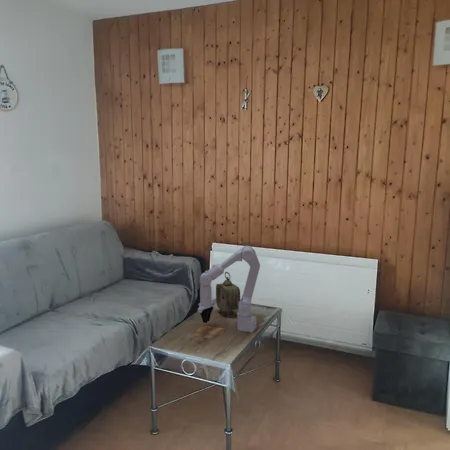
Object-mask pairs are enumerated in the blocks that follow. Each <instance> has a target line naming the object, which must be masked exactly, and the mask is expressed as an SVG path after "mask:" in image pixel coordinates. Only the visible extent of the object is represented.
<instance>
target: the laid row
mask: <svg viewBox="0 0 450 450" xmlns="http://www.w3.org/2000/svg"><path fill="white" fill-rule="evenodd" d="M190 336H195V337H201V338H206V339H212V340H216V339H218V338H219V337H221V335H216V334H210V333H205V332H199V331H196V330H195V331H193V332H192V333H191V334H190Z"/></svg>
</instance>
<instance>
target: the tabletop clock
mask: <svg viewBox="0 0 450 450" xmlns="http://www.w3.org/2000/svg"><path fill="white" fill-rule="evenodd" d="M226 274H228V276H227V275H226ZM224 278H225V280H223V282H222V283H216V286H215V301H216V306H217V308H218V309H219V310H218V313H222V312H224V313H226V312H227V315H226V319H230V315H233V313H234V311H238V310H239V307H238V303H239V301H240V300H241V290H240V287H239V286H237V285H236V284H234V283H233V282H232V280H231V274H230V273H229V272H228V271H224Z"/></svg>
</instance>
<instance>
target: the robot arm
mask: <svg viewBox="0 0 450 450" xmlns="http://www.w3.org/2000/svg"><path fill="white" fill-rule="evenodd" d="M243 261H244V262H246V263H247V264H248V266H249V270H248V274H247V277H246V282H245V286H244V289H243V294H242V295H241V297H240V301H239V303H238V307H239V309H238V310H237V311H238V312H237V313H236V314H237V319H236V321H237V323H236V324H237V331H240V332H246V333H248V332H249V333H253V332H254V331H256V329H257V316H256V315H255V314H254V315H253V314H252V309H251V305H252V297H253V295H254V291H255V286H256V284H257V279H258V275H259V271H260V268H261V264H260V260H259V257H258V255H257V253H256V250H255V249H254V248H253V246H250V245H244V246H243V247H242V248H239V249H238V250H236V252H234V253H233V254H231V255H230V256H229V257H228V258H227V259H224V261H222V262H221V263H216V264H213V265H212V267H211V268H209V269H208V270H205V271H204V272H202V274H201V275H200V276H199V283H200V284H199V286H200V287H199V297H200V299H199V301H200V302H199V303H198V304H197V305H198V306H199V307H198V308H197V313H198V314H200V316H201V320H202V323H205V324H207V323H208V322H210V319H211V316H212V312H213V310H214V306H213V305H214V303H215V302H214V301H215V300H213V299H212V284H211V283H212V282H213V281H215V280H216V279H217V278H219V277H220V276H222V275H223V274H225V270H226V269H227V268H228V267H230V266H232V265H233V264H235V263H236V262H243Z"/></svg>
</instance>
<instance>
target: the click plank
mask: <svg viewBox="0 0 450 450" xmlns="http://www.w3.org/2000/svg"><path fill="white" fill-rule="evenodd" d="M226 330H228V329H227V328H223V327H218V326H217V327H216V326H210V325H205V324H204V325H203V324H202V325H201V326H200V327H198V328H197V329H196V330H195V331H198V332H204V333H209V334H215V335H220V336H221V335H222V334H223V333H224V332H225V331H226Z"/></svg>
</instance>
